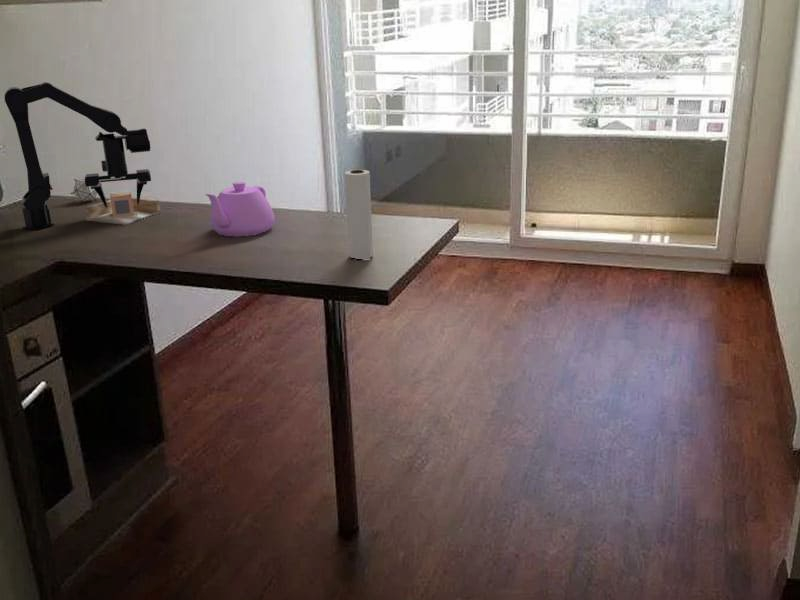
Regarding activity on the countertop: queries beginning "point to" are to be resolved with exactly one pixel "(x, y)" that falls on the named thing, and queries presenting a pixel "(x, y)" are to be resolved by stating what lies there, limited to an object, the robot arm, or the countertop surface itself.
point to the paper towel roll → (359, 213)
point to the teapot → (241, 211)
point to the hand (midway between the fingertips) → (122, 205)
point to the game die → (84, 191)
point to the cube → (121, 204)
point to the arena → (140, 212)
